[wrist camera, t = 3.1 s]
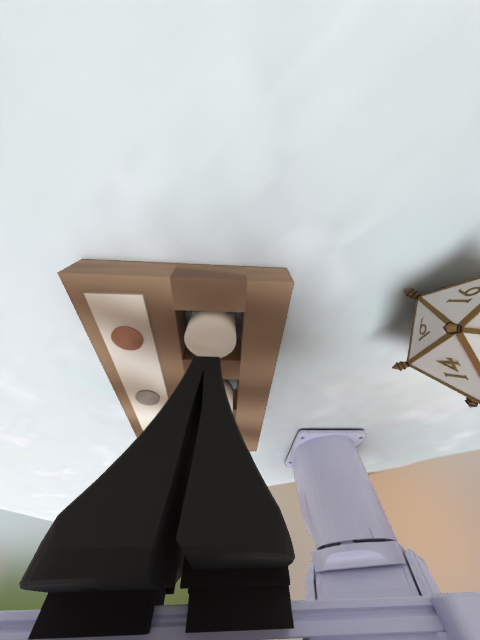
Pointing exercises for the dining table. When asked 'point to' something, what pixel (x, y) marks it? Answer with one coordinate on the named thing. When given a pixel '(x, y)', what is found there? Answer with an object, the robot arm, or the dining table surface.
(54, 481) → the dining table surface
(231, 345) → the button
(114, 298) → the button board
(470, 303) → the game die
